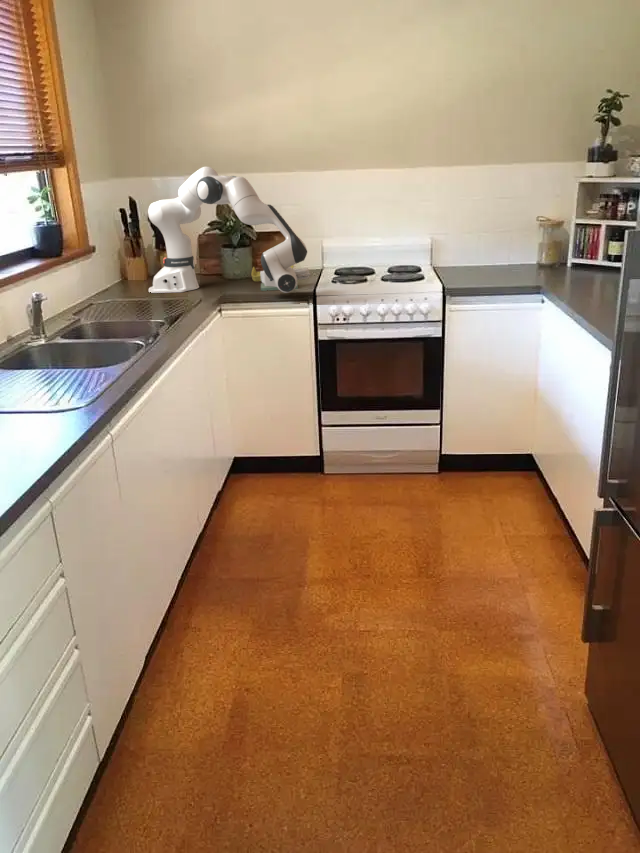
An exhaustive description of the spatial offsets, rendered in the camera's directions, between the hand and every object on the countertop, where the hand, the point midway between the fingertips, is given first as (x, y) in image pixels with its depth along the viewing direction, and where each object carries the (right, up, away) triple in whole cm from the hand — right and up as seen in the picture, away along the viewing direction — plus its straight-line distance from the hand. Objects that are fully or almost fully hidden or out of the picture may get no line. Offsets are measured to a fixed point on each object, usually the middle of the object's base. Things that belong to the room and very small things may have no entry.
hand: (284, 272), depth 309 cm
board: (-3, -4, +14) cm, 15 cm away
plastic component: (-7, +3, +35) cm, 36 cm away
